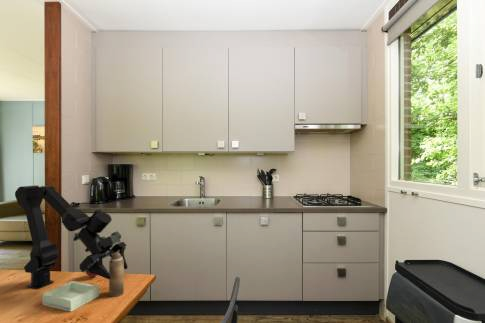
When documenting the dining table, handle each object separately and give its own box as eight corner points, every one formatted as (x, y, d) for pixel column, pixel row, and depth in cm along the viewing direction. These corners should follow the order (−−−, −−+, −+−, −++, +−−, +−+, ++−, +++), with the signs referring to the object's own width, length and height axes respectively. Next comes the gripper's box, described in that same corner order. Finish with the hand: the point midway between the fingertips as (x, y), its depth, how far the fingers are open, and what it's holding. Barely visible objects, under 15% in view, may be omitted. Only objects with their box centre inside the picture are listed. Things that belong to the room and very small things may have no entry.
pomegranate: (94, 281, 112) (94, 261, 112) (82, 280, 113) (82, 260, 113) (104, 275, 118) (104, 256, 118) (92, 274, 119) (92, 255, 119)
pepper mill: (106, 295, 100) (106, 253, 100) (116, 289, 104) (116, 249, 104) (116, 297, 98) (116, 255, 98) (126, 291, 102) (126, 251, 103)
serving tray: (42, 304, 93) (42, 294, 93) (72, 290, 104) (72, 281, 104) (70, 311, 89) (70, 300, 89) (99, 296, 99) (99, 286, 99)
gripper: (86, 232, 93) (115, 268, 91) (122, 221, 111) (147, 250, 109) (66, 254, 95) (94, 290, 92) (105, 239, 113) (129, 269, 110)
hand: (118, 273), depth 101 cm, fingers open, 9 cm apart
